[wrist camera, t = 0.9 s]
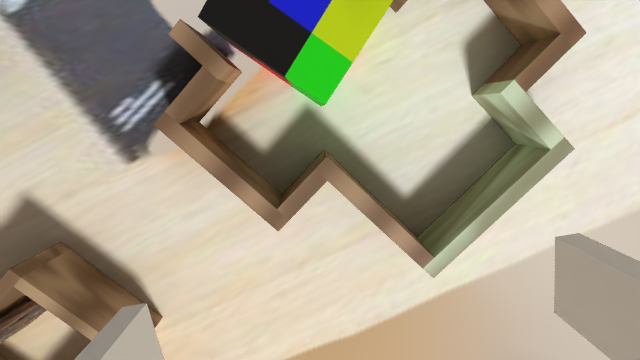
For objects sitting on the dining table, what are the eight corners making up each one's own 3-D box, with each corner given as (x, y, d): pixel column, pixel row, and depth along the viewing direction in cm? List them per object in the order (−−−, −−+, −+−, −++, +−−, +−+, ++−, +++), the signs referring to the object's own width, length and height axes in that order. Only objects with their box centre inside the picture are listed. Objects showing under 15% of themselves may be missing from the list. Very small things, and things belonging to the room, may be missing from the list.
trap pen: (148, 97, 31) (118, 95, 27) (366, -168, 27) (378, -228, 22) (375, 294, 37) (384, 322, 32) (586, 96, 32) (634, 93, 28)
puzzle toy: (290, -52, 29) (280, -133, 19) (379, 16, 31) (412, -29, 21) (233, 46, 31) (197, 16, 21) (321, 106, 32) (325, 104, 22)
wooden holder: (-28, 347, 37) (-93, 392, 31) (60, 242, 34) (9, 269, 28) (72, 412, 39) (30, 466, 33) (162, 317, 36) (133, 357, 31)
